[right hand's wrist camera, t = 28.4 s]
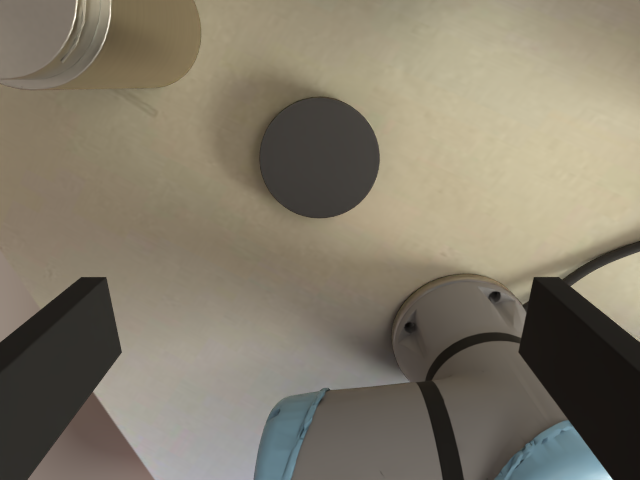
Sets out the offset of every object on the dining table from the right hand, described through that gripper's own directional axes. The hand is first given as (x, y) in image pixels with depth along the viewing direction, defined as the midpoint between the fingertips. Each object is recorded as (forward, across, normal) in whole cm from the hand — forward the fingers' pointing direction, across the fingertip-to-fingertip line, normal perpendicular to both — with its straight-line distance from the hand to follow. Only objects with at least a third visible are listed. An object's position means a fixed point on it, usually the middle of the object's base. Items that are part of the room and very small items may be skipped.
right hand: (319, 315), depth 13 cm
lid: (+27, 0, 0) cm, 27 cm away
